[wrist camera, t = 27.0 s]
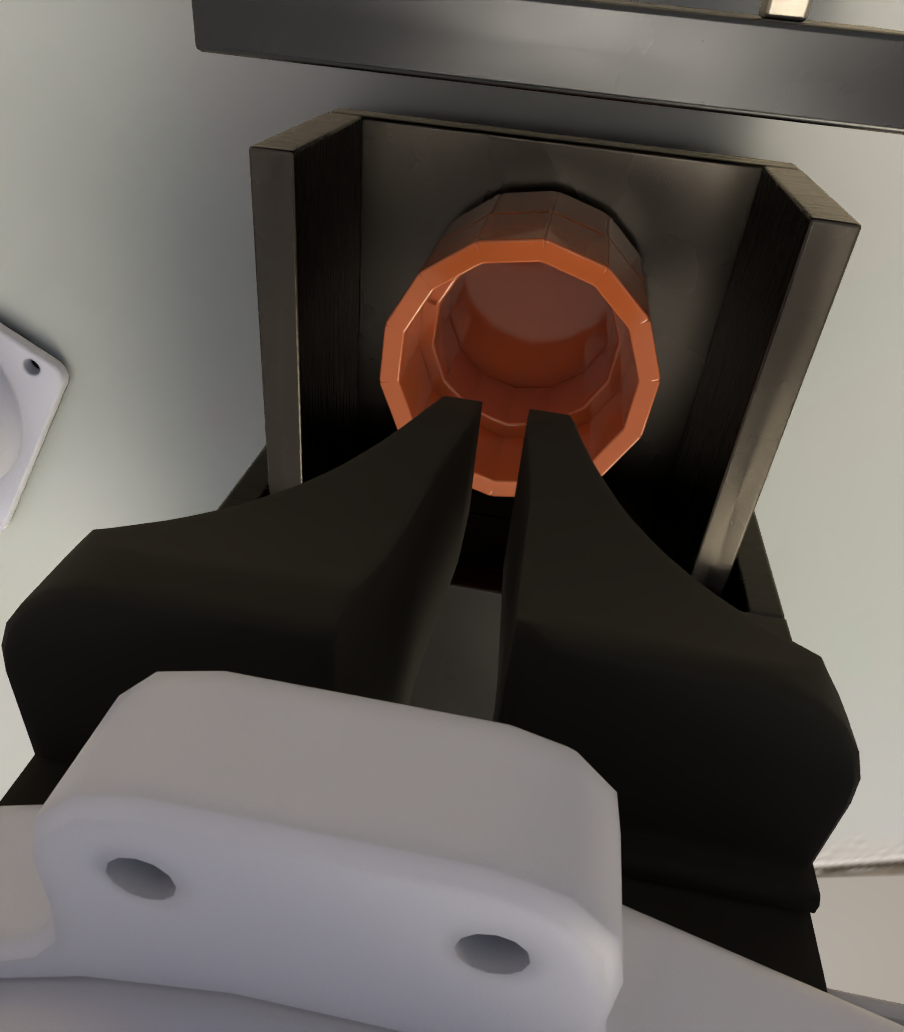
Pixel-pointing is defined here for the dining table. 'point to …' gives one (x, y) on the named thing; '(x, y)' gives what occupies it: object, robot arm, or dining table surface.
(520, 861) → the robot arm
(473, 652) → the cabinet
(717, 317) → the drawer
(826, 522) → the dining table surface
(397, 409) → the orange cup
